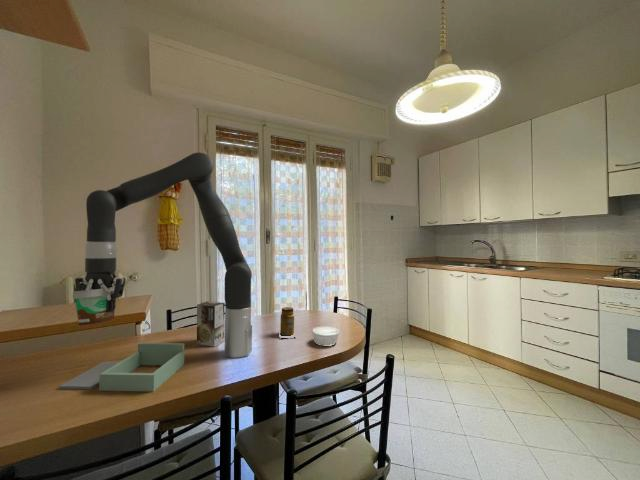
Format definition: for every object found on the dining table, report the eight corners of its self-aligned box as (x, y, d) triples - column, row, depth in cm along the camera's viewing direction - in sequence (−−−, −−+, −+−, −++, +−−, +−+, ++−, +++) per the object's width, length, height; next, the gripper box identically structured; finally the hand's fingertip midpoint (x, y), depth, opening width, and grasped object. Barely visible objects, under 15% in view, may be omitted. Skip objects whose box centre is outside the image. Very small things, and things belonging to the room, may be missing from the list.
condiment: (293, 332, 128) (294, 306, 128) (296, 338, 120) (296, 310, 120) (278, 333, 127) (278, 306, 127) (279, 339, 119) (279, 311, 119)
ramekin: (331, 350, 108) (331, 336, 108) (306, 344, 113) (307, 331, 113) (343, 341, 118) (343, 329, 118) (320, 336, 123) (320, 324, 123)
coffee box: (224, 341, 115) (225, 302, 115) (214, 347, 109) (215, 305, 109) (207, 338, 118) (207, 300, 118) (195, 344, 112) (196, 303, 112)
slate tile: (131, 364, 93) (131, 361, 93) (91, 389, 77) (91, 386, 77) (104, 363, 93) (104, 361, 93) (59, 389, 77) (59, 386, 77)
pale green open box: (184, 364, 94) (184, 343, 94) (153, 391, 77) (154, 365, 77) (139, 363, 94) (139, 342, 94) (99, 390, 77) (99, 365, 77)
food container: (91, 326, 79) (90, 291, 79) (73, 326, 80) (72, 291, 80) (128, 315, 91) (127, 284, 91) (112, 315, 92) (111, 285, 92)
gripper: (132, 256, 89) (131, 309, 89) (88, 255, 89) (86, 308, 89) (115, 257, 82) (114, 315, 81) (66, 256, 82) (65, 314, 81)
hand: (100, 311), depth 85 cm, fingers closed on food container, 5 cm apart
